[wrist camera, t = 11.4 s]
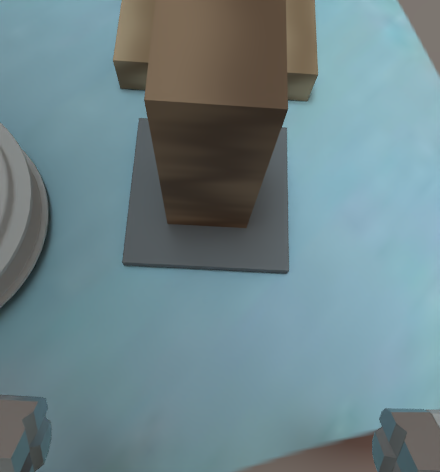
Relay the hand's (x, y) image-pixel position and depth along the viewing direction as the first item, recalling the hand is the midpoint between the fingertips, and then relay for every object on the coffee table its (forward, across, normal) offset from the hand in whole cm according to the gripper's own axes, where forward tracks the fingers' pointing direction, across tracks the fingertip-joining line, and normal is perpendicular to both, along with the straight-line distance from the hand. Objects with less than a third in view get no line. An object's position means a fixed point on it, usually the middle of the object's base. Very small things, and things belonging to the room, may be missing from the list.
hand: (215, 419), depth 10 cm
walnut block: (+15, 0, 0) cm, 15 cm away
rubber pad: (+16, 0, 0) cm, 16 cm away
